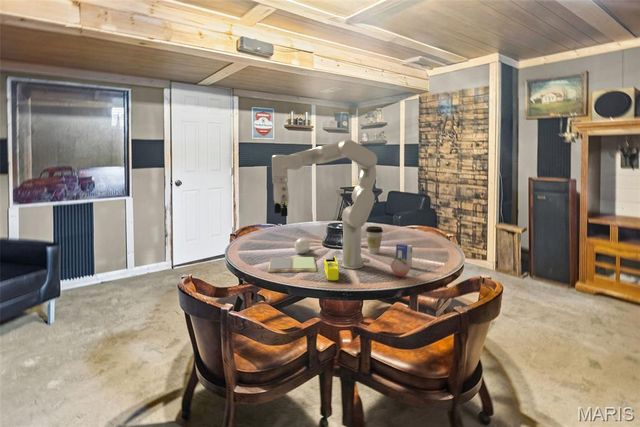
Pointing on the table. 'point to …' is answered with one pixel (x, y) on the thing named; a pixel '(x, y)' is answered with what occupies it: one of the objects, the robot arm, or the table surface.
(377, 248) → the coffee cup
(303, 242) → the white ovoid
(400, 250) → the blue and white carton
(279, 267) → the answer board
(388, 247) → the table surface
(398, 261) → the decorative fruit
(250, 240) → the table surface
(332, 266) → the yellow toy chassis
